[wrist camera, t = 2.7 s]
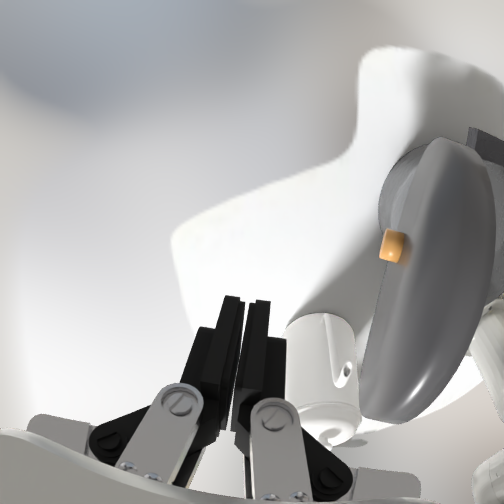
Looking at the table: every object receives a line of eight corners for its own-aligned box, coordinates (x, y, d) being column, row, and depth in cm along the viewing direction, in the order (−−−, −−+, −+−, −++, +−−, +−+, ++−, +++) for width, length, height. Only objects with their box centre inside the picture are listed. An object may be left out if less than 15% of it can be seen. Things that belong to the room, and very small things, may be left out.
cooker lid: (545, 175, 5) (465, 138, 6) (364, 472, 12) (318, 462, 13) (437, 137, 18) (403, 127, 19) (385, 312, 26) (357, 304, 27)
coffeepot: (371, 263, 36) (414, 379, 20) (337, 385, 48) (343, 480, 31) (287, 259, 37) (281, 381, 21) (277, 383, 49) (267, 480, 32)
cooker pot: (498, 145, 26) (553, 167, 16) (455, 285, 36) (487, 334, 26) (396, 107, 27) (442, 111, 17) (359, 272, 37) (378, 329, 27)
